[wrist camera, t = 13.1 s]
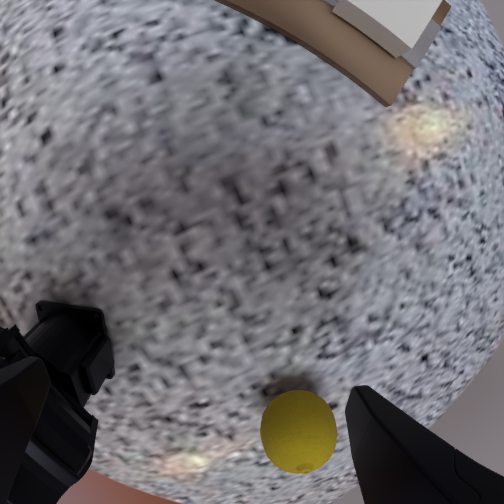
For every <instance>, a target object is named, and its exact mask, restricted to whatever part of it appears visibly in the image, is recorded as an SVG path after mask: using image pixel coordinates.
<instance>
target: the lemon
mask: <svg viewBox="0 0 504 504" xmlns="http://www.w3.org/2000/svg"><path fill="white" fill-rule="evenodd" d="M260 434H261V440H262V443H263V447H264V450H265V452H266V454H267V456H268V458H269V459H270V460H271V461H272V463H273V464H274V465H275V466H277V467H279V468H280V469H282V470H284V471H287V472H290V473H297V474H299V473H302V474H307V473H310V472H311V471H314V470H316V469H318V468H319V467H321V466H322V465H323V464H325V463H326V462H327V461H328V460H329V458H330V457H331V455H332V454H333V452H334V450H335V446H336V441H337V427H336V422H335V418H334V415H333V412H332V410H331V409H330V407H329V406H328V404H327V403H326V402H325V401H324V400H323V399H322V398H321V397H319V396H318V395H316V394H315V393H312V392H309V391H305V390H292V391H288V392H285V393H283V394H280V395H279V396H277V397H276V398H274V399H273V400H272V401H271V402H270V403H269V405H268V406H267V408H266V410H265V411H264V413H263V416H262V421H261V428H260Z"/></svg>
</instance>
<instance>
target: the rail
mask: <svg viewBox="0 0 504 504" xmlns="http://www.w3.org/2000/svg"><path fill="white" fill-rule="evenodd" d="M319 1H321V2H323V3H324V4H326V5H328V6H329V7H331V8H332V9H334V7H335V6H336V4H337V3H338V1H339V0H319ZM440 28H441V27H440V26H439V25H438V24H437V23H436V22H435V21H434V20H432V19H431V20H430V21H429V23H428V24H427V26H426V27H425V29H424V31H423V32H422V34H421V35H420V37H419V39H418V40H417V42H416V43H415V45H414V46H413V48H412V49H411V50H409V51H407V52H406V53H404V54H402V55H401V56H399V57H400V58H401V59H402V60H403V61H404V62H405V63H407V64H408V65H409V66H410V67H411V68H412V69H413V70H414V69H416V68H417V67H418V65H419V63H420V62H421V60H422V58H423V57H424V55H425V53H426V52H427V50H428V48H429V47H430V45H431V43H432V42H433V40H434V38H435V37H436V35H437V33H438V32H439V30H440Z"/></svg>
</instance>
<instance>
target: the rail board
mask: <svg viewBox="0 0 504 504" xmlns="http://www.w3.org/2000/svg"><path fill="white" fill-rule="evenodd" d="M215 1H218V2H220V3H222V4H224V5H227V6H229V7H231V8H233V9H235V10H237V11H239V12H241V13H244V14H246V15H248V16H250V17H252V18H253V19H255V20H257V21H259V22H261V23H263V24H265V25H267V26H269V27H270V28H272V29H274V30H276V31H278V32H279V33H281V34H283V35H285V36H286V37H288V38H290V39H291V40H293V41H295V42H296V43H298V44H300V45H301V46H303V47H305V48H306V49H308V50H309V51H311V52H312V53H314V54H315V55H317V56H318V57H320V58H322V59H323V60H324V61H326V62H327V63H329V64H330V65H332V66H333V67H335V68H336V69H337V70H339V71H340V72H342V73H343V74H344V75H346V76H347V77H349V78H350V79H351V80H353V81H354V82H355V83H357V84H358V85H359V86H360V87H362V88H363V89H364V90H366V91H367V92H368V93H369V94H371V95H372V96H373V97H374V98H376V99H377V100H378V101H379V102H380V103H382V104H383V105H384V106H385V107H388V106H391V105H392V103H393V102H394V100H395V99H396V97H397V95H398V94H399V92H400V91H401V89H402V87H403V86H404V84H405V83H406V81H407V79H408V78H409V76H410V75H411V73H412V71H413V69H412V68H411V67H410V66H409V65H408V64H407V63H405V62H404V61H403V60H402V59H401V58H400V57H397V58H395V57H394V56H393V55H392V54H390V53H389V52H388V51H387V50H385V49H384V48H383V47H382V46H380V45H379V44H378V43H377V42H375V41H374V40H373V39H371V38H370V37H369V36H367V35H366V34H364V33H363V32H362V31H360V30H359V29H357V28H356V27H355V26H353V25H352V24H350V23H349V22H347V21H346V20H344V19H343V18H341V17H340V16H338V15H337V14H335V13H334V12H332V10H333V9H332V8H331V7H329V6H328V5H326V4H324V3H323V2H321V1H319V0H215ZM450 8H451V6H450V5H449V4H448V3H447V2H446V1H445V0H442V2H441V3H440V5H439V7H438V8H437V10H436V11H435V13H434V15H433V16H432V18H431V19H432V20H434V21H435V22H436V23H437V24H438V25H439V26H440V25H441V23H442V22H443V20H444V18H445V16H446V15H447V13H448V11H449V10H450Z"/></svg>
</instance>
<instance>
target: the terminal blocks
mask: <svg viewBox="0 0 504 504" xmlns="http://www.w3.org/2000/svg"><path fill="white" fill-rule="evenodd" d="M441 2H442V0H339V1H338V3H337V4H336V6H335V7H334V9H333V10H332V12H334V13H335V14H337V15H338V16H340V17H341V18H343V19H344V20H346V21H347V22H349V23H350V24H352V25H353V26H355V27H356V28H357V29H359V30H360V31H362V32H363V33H364V34H366V35H367V36H369V37H370V38H371V39H373V40H374V41H375V42H377V43H378V44H379V45H380V46H382V47H383V48H384V49H385V50H387V51H388V52H389V53H390V54H392V55H393V56H394V57H395V58H397V57H399V56H401V55H402V54H404V53H406V52H407V51H409V50H411V49H412V48H413V46H414V45H415V43H416V42H417V40H418V39H419V37H420V35H421V34H422V32H423V31H424V29H425V27H426V26H427V24H428V23H429V21H430V20H431V18H432V16H433V15H434V13H435V11H436V10H437V8H438V7H439V5H440V3H441Z"/></svg>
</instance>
